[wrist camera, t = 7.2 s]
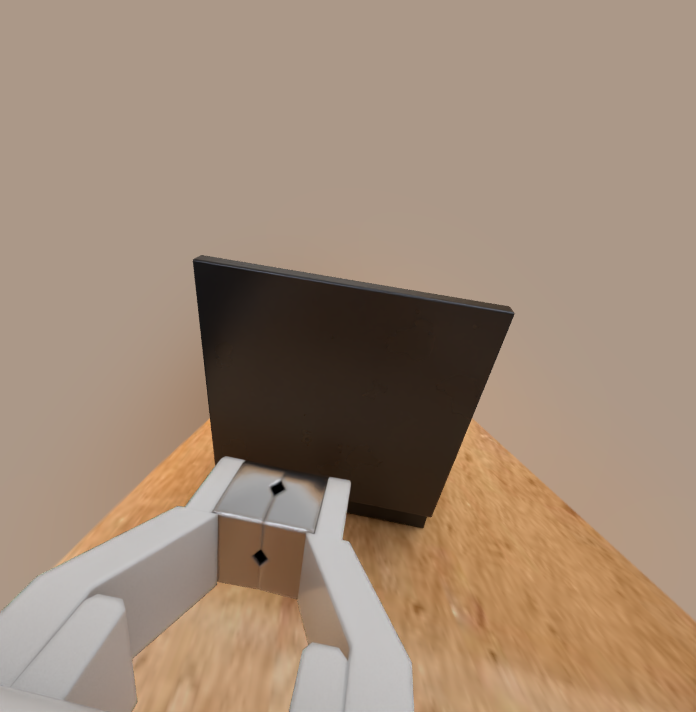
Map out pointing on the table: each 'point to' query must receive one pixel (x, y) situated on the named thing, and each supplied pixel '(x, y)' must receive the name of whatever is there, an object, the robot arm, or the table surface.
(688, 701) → the table surface
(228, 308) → the laptop screen
